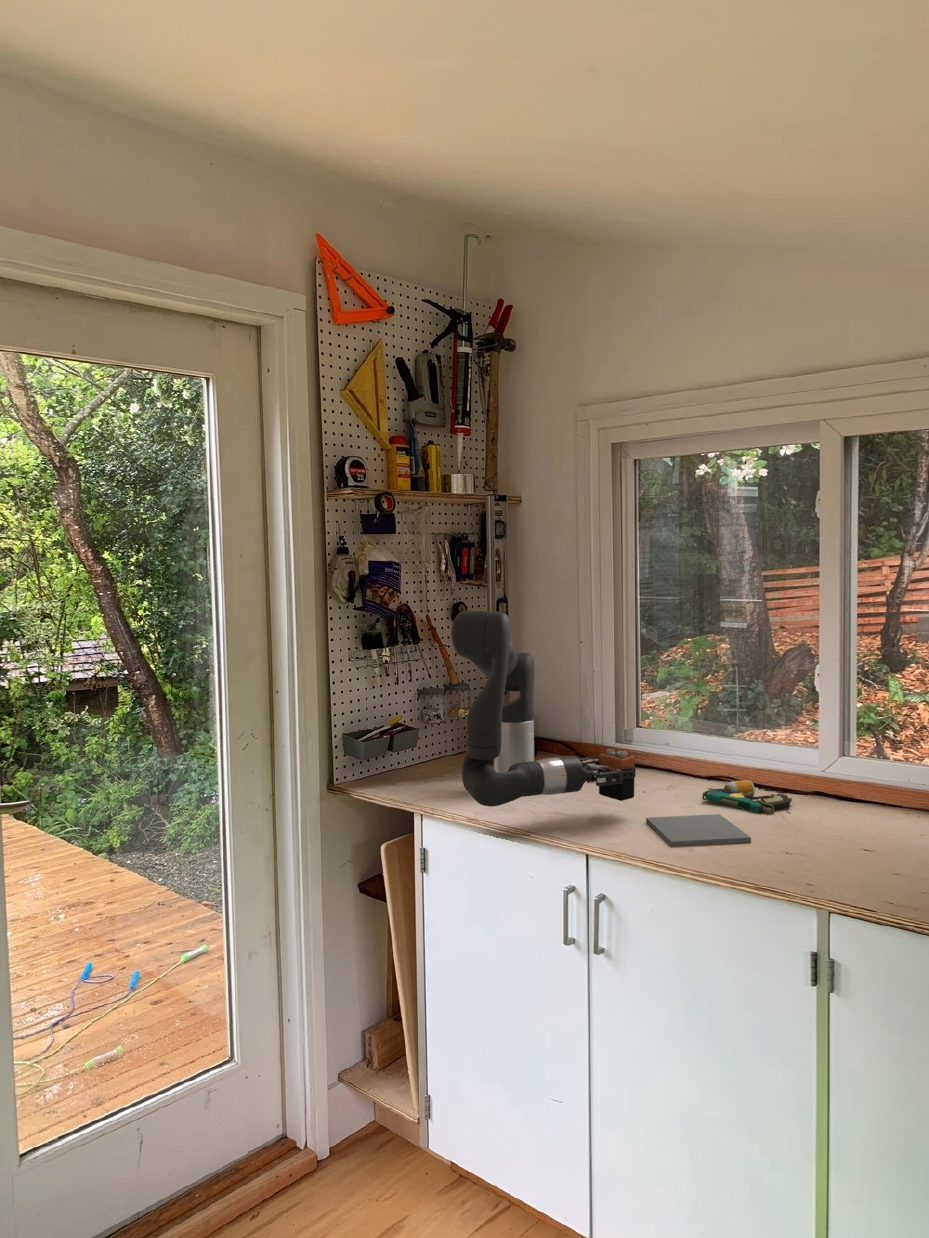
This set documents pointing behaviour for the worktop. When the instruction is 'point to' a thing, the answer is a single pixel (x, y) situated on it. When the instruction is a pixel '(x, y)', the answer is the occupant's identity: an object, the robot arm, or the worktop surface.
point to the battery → (614, 761)
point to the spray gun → (746, 797)
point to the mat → (697, 830)
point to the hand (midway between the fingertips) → (624, 767)
